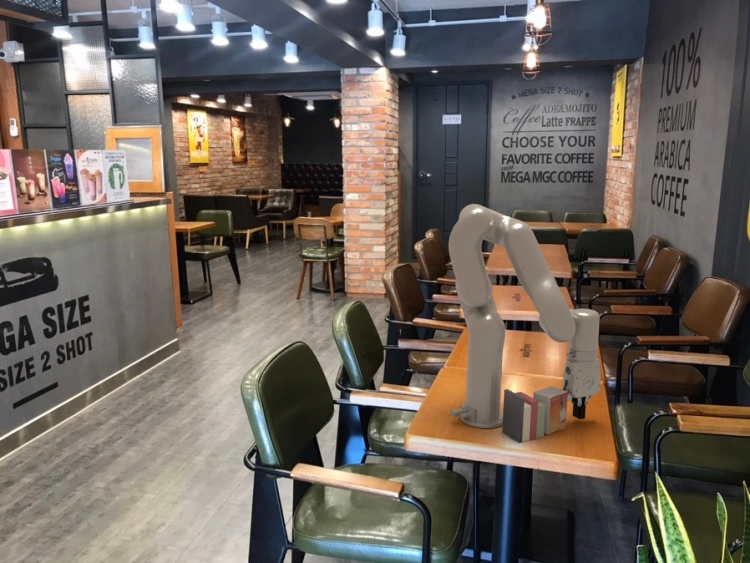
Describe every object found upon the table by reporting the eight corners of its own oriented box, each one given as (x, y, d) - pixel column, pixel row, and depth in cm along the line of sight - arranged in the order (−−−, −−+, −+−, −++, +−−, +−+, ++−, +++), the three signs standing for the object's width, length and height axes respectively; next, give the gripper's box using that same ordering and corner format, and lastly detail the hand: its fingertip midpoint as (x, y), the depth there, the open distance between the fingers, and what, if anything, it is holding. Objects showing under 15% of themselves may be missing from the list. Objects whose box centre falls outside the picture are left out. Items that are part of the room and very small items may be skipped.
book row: (519, 442, 150) (521, 398, 148) (502, 432, 156) (504, 389, 154) (543, 437, 153) (546, 393, 151) (525, 426, 159) (528, 385, 157)
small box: (547, 435, 154) (550, 398, 152) (530, 428, 158) (532, 391, 157) (566, 427, 159) (568, 391, 157) (549, 420, 163) (551, 385, 161)
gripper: (571, 362, 152) (567, 427, 156) (613, 354, 158) (609, 417, 162) (551, 354, 159) (548, 417, 163) (592, 347, 165) (589, 408, 169)
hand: (578, 417), depth 162 cm, fingers closed
